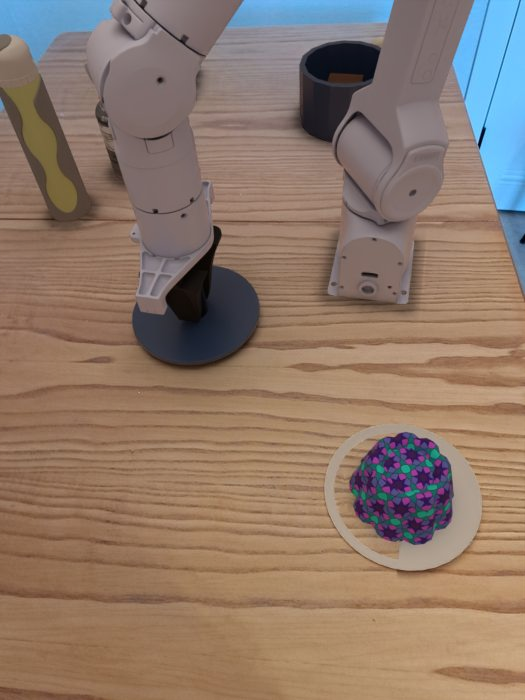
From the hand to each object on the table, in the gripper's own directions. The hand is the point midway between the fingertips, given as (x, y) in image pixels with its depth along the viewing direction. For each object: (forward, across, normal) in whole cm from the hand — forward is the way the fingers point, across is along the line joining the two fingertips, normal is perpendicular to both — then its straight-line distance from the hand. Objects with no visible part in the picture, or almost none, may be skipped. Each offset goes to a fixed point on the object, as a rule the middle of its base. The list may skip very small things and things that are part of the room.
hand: (194, 306), depth 55 cm
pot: (+3, -38, +9) cm, 39 cm away
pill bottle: (+3, -23, -15) cm, 27 cm away
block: (+2, -38, +9) cm, 39 cm away
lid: (+1, 0, 0) cm, 1 cm away
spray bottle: (+3, -14, -20) cm, 25 cm away
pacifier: (+3, -49, +12) cm, 50 cm away
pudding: (+3, +14, +21) cm, 25 cm away
